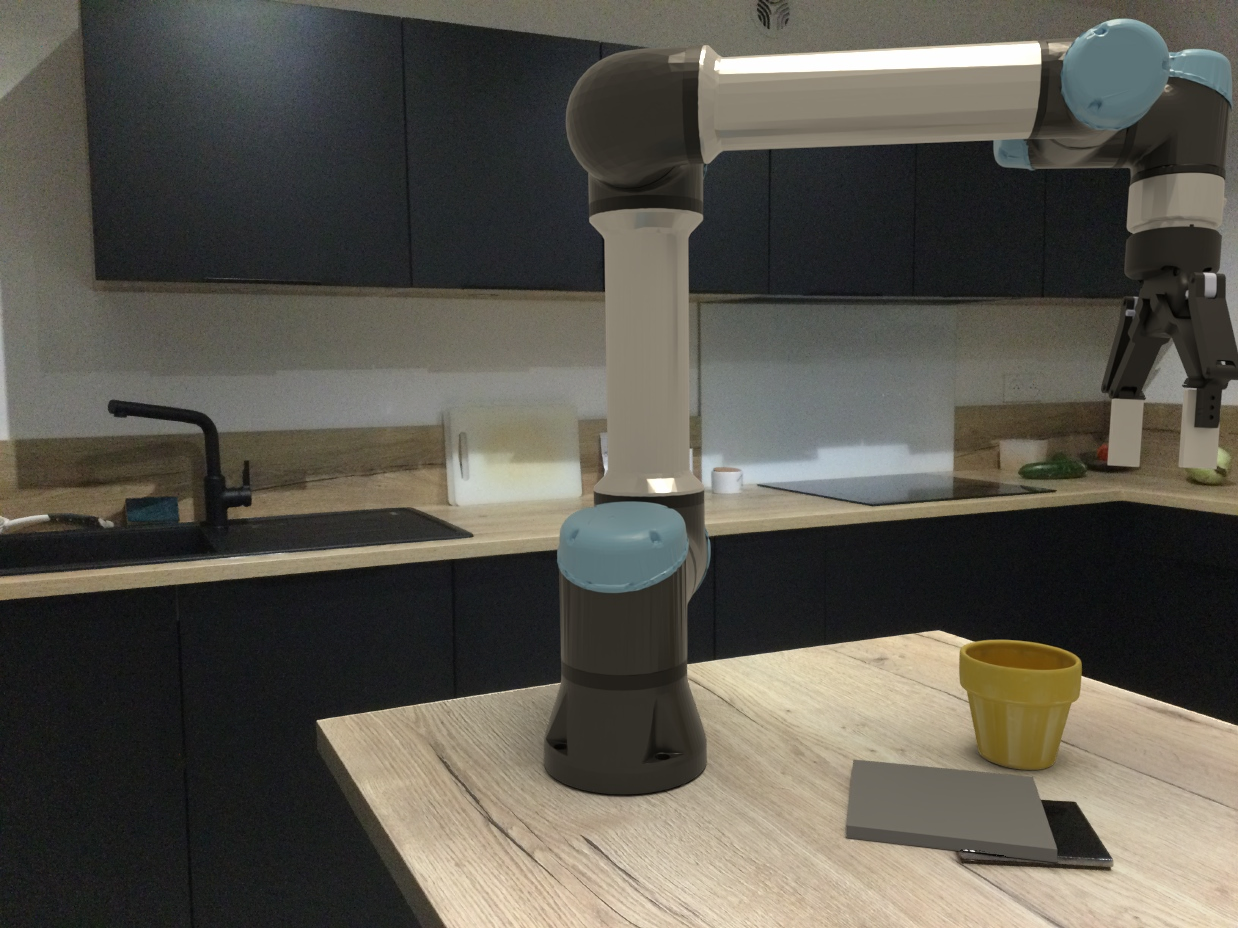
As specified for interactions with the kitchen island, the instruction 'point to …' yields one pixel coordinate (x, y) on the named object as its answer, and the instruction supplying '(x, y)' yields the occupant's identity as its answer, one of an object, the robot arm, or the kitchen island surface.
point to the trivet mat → (948, 810)
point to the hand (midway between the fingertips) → (1157, 467)
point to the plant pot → (1019, 699)
